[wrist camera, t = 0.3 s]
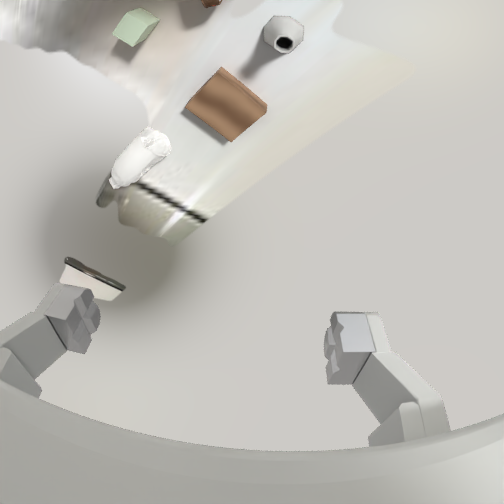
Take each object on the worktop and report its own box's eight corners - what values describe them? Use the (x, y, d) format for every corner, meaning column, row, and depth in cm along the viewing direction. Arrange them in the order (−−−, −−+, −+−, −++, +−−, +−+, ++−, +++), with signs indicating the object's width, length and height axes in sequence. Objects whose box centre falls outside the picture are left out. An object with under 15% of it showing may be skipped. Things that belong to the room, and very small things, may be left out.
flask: (295, 56, 44) (298, 72, 38) (257, 43, 43) (252, 56, 37) (310, 23, 38) (316, 33, 33) (270, 9, 37) (268, 16, 31)
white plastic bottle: (109, 163, 68) (96, 184, 63) (150, 120, 57) (136, 139, 53) (131, 181, 72) (120, 202, 68) (175, 141, 62) (165, 162, 57)
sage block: (140, 7, 36) (126, 12, 33) (160, 19, 39) (148, 25, 35) (126, 26, 39) (111, 34, 36) (145, 38, 42) (132, 47, 38)
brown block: (221, 66, 47) (217, 72, 45) (267, 104, 54) (266, 112, 51) (190, 99, 53) (184, 107, 51) (233, 132, 60) (231, 142, 57)
